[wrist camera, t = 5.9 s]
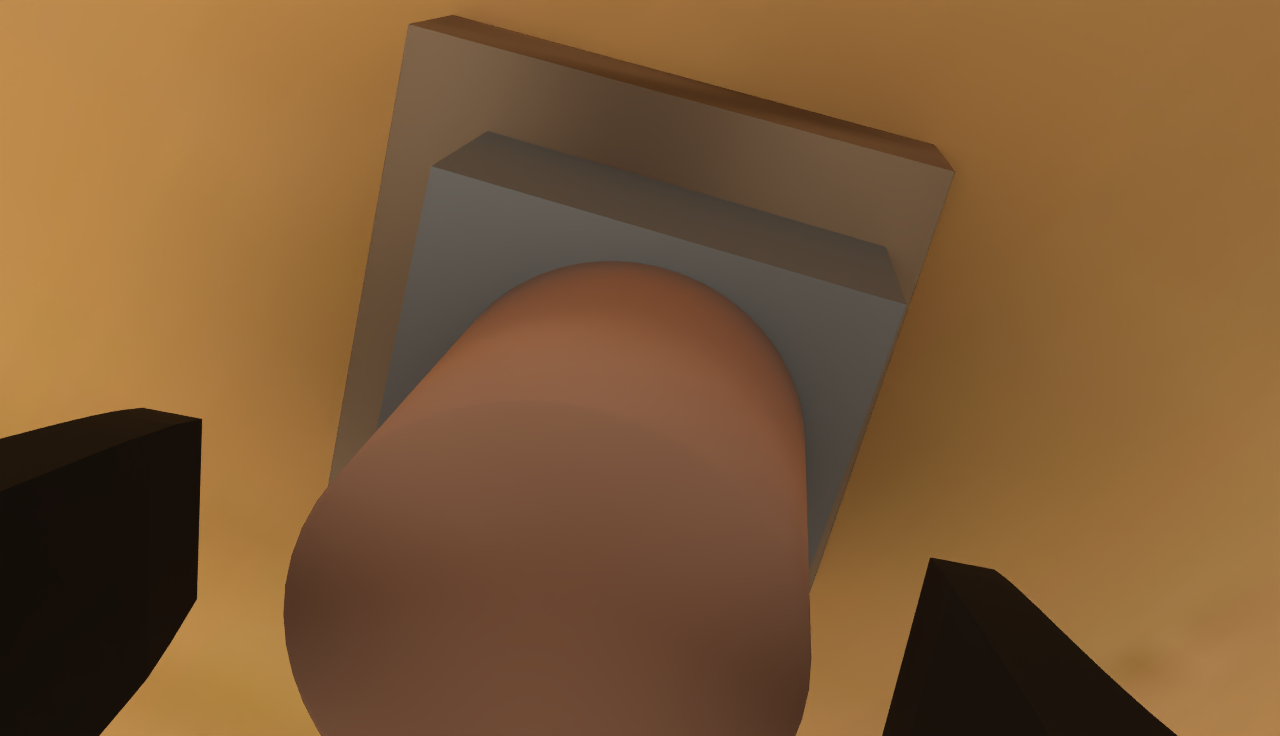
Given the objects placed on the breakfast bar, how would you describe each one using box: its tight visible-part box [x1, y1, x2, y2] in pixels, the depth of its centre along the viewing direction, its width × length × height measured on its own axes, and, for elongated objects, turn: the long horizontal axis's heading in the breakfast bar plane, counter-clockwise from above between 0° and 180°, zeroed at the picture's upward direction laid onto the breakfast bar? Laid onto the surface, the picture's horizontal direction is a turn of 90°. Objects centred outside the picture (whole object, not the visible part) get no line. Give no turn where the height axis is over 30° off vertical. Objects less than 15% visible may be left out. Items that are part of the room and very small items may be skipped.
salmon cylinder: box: [284, 261, 811, 736], centre depth 13 cm, size 5×5×5 cm
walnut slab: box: [328, 15, 955, 593], centre depth 20 cm, size 8×8×3 cm
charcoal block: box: [376, 131, 906, 570], centre depth 17 cm, size 6×6×3 cm
